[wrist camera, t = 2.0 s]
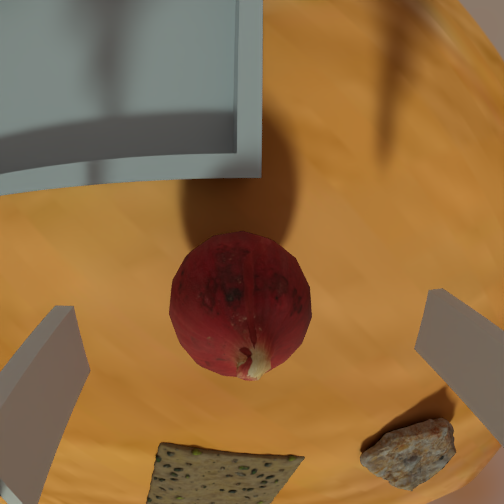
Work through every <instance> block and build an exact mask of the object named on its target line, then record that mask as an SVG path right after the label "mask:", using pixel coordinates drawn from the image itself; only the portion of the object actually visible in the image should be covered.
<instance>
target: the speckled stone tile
mask: <svg viewBox="0 0 504 504" xmlns="http://www.w3.org/2000/svg"><path fill="white" fill-rule="evenodd" d="M304 458H305V457H304V456H303V457H302V456H293V455H289V456H279V455H275V456H274V455H253V454H245V453H231V452H223V451H214V450H205V449H200V448H192V447H185V446H181V445H175V444H170V443H160V445H159V447H158V453H157V455H156V461H155V463H154V471H153V474H152V480H151V483H150V485H151V486H150V491H149V495H148V497H147V502H146V504H270V503H271V502H272V501H273V499H274V497H275V496H276V495H277V494H278V493H279V491H280V490H281V489H282V488H283V486H284V485H285V484H286V483H287V481H288V479H289V478H290V477H291V475H292V474H293V473H294V472H295V470H296V469H297V467H298V466H299V465H300V463H301V462H302V461H303V460H304Z"/></svg>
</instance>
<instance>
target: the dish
mask: <svg viewBox="0 0 504 504" xmlns="http://www.w3.org/2000/svg"><path fill="white" fill-rule="evenodd" d="M262 50H263V0H0V196H1V195H7V194H14V193H22V192H29V191H37V190H45V189H54V188H63V187H73V186H83V185H94V184H107V183H120V182H135V181H152V180H173V179H203V178H261V164H262Z"/></svg>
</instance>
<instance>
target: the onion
mask: <svg viewBox="0 0 504 504" xmlns="http://www.w3.org/2000/svg"><path fill="white" fill-rule="evenodd" d="M169 315H170V318H171V321H172V324H173V327H174V329H175V332H176V335H177V338H178V340H179V342H180V344H181V345H182V347H183V348H184V349H185V350H186V351H187V353H188V354H189V355H190V356H191V357H192V358H193V359H194V361H195V362H196V363H197V364H199V365H200V366H201V367H204V368H206V369H208V370H211V371H213V372H216V373H218V374H221V375H223V376H233V377H238V378H241V379H243V380H250V381H252V380H259V379H260V377H261V376H262V375H263V374H264V373H266V372H268V371H270V370H272V369H273V368H275V367H277V366H278V365H280V364H282V363H283V362H285V361H286V360H287V359H288V358H289V357H290V356H291V355H292V354H293V353H294V352H295V351H296V349H297V348H298V347H299V346H300V345H301V344H302V342H303V339H304V337H305V334H306V332H307V329H308V326H309V323H310V321H311V318H312V312H311V297H310V287H309V285H308V282H307V280H306V278H305V276H304V274H303V272H302V270H301V268H300V266H299V264H298V262H297V260H296V258H295V257H294V256H292V255H291V254H290V253H289V252H287V251H286V250H285V249H284V248H282V247H281V246H280V245H279V244H277V243H276V242H275V241H273V240H271V239H269V238H265V237H262V236H259V235H255V234H252V233H248V232H245V231H238V232H232V233H226V234H220V235H214V236H212V237H211V238H209V239H208V240H207V241H205V242H204V243H202V244H201V245H199V246H198V247H197V248H195V249H194V250H192V251H191V252H190V253H189V254H188V255H187V256H186V257H185V259H184V261H183V262H182V264H181V266H180V268H179V269H178V271H177V273H176V275H175V277H174V278H173V281H172V288H171V298H170V309H169Z"/></svg>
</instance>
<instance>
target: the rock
mask: <svg viewBox="0 0 504 504" xmlns="http://www.w3.org/2000/svg"><path fill="white" fill-rule="evenodd" d="M453 432H454V430H453V427H452V425H451V424H450V423H449V422H448V421H447V420H446V419H444V418H438V419H434V420H432V419H428V420H427V421H425V422H421V423H417V424H414V425H411V426H408V427H405V428H401V429H398V430H394V431H391V432H389V433H386V434H385V435H384V436H383V437H382V438H381V440H380V441H378V442H377V443H376V444H375V445H374V446H373V447H371V448H369V449H368V450H366V451H365V452H363V453H362V455H361V456H360V462H361V464H362V465H363V466H365V467H367V468H368V470H369V471H370V472H372V473H373V474H375V475H376V476H378V477H382V478H383V479H385V480H388V481H389V483H390V484H391V485H392V486H395V487H397V488H400V489H404V490H411V491H413V489H414V488H416V487H417V486H418V485H419V484H421V483H424V482H426V481H427V480H429V479H430V478H431V477H432V476H434V475H435V474H436V473H437V472H439V471H440V470H441V469H443V468H444V467H445V465H446V464H447V463H448V462H449V461H450V460H451V458H452V457H453V456H454V455H455V453H456V449H455V446H454V437H453Z"/></svg>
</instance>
